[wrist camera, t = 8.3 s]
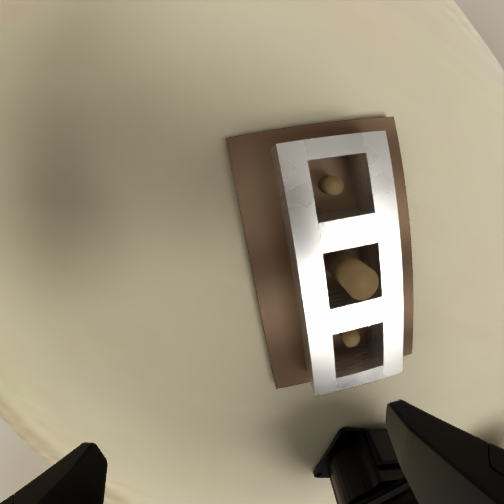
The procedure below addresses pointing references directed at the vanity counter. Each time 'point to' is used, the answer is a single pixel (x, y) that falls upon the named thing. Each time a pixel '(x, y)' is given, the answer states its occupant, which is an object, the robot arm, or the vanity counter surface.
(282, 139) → the post stand
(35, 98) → the vanity counter surface
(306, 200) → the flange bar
